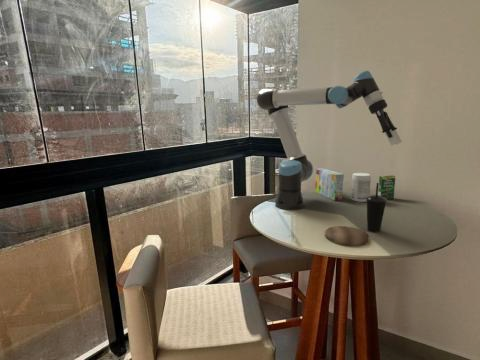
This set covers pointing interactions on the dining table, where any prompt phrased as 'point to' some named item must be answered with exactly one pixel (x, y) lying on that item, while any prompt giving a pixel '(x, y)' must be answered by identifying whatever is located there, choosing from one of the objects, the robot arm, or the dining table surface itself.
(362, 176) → the supplement tub
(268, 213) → the dining table surface
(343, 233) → the coaster board
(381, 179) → the coffee box
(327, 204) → the dining table surface
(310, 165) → the robot arm
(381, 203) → the drinking cup
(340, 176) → the snack box
